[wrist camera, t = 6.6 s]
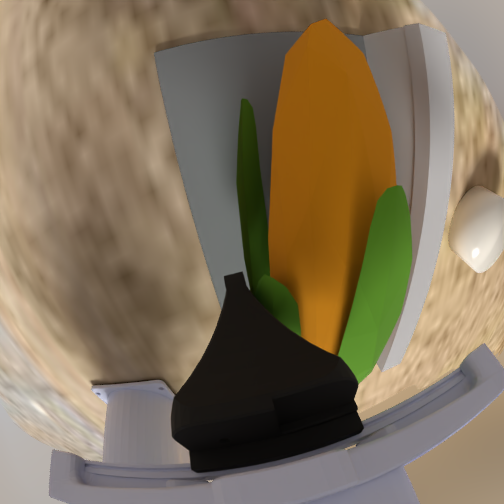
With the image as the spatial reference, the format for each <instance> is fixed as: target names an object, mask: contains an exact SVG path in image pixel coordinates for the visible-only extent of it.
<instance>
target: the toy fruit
mask: <svg viewBox="0 0 504 504" xmlns="http://www.w3.org/2000/svg"><path fill="white" fill-rule="evenodd" d="M236 186H237V196H238V206H239V215H240V225H241V235H242V244H243V254H244V261H245V266H246V271H247V276H248V282H249V287H250V291H251V292H252V294H253V295H254V296H255V297H256V298H257V300H258V301H259V302H260V303H261V304H262V305H263V306H264V307H265V308H266V309H267V310H268V311H269V312H270V313H271V314H272V315H273V316H274V317H275V318H276V319H278V320H279V321H280V322H281V323H282V324H284V325H285V326H286V327H288V328H289V329H290V330H292V331H293V332H294V333H296V334H298V335H299V336H301V337H302V338H304V339H305V340H307V341H309V342H310V343H312V344H314V345H316V346H318V347H319V348H321V349H323V350H325V351H328V352H330V353H332V354H334V355H337V356H339V357H341V358H342V359H343V360H344V362H345V363H346V364H347V365H348V366H349V368H350V369H351V370H352V372H353V373H354V375H355V376H356V378H357V381H358V384H359V383H360V382H361V381H362V380H363V379H365V378H366V377H367V376H368V375H369V374H370V373H371V372H372V370H373V368H374V366H375V364H376V363H377V361H378V359H379V357H380V355H381V353H382V351H383V349H384V348H385V346H386V344H387V342H388V340H389V338H390V336H391V333H392V331H393V329H394V327H395V325H396V323H397V321H398V319H399V316H400V314H401V311H402V307H403V303H404V299H405V295H406V290H407V285H408V280H409V275H410V270H411V265H412V234H411V219H410V212H409V207H408V203H407V198H406V194H405V192H404V189H403V187H402V186H401V185H397V183H396V169H395V157H394V147H393V139H392V132H391V128H390V125H389V121H388V118H387V115H386V112H385V109H384V105H383V102H382V100H381V97H380V94H379V91H378V88H377V86H376V83H375V80H374V78H373V75H372V73H371V70H370V68H369V65H368V63H367V60H366V58H365V56H364V54H363V52H362V51H361V50H360V49H359V48H358V47H357V46H356V45H355V44H354V43H353V42H352V41H351V40H350V39H348V38H347V37H346V36H345V35H344V34H343V33H342V32H341V31H340V30H339V29H338V28H337V27H335V26H334V25H333V24H332V23H331V22H330V21H328V20H327V19H324V20H321V21H318V22H315V23H312V24H311V25H310V26H309V27H308V28H307V29H306V30H305V32H304V33H303V34H302V35H301V36H300V38H299V39H298V40H297V41H296V42H295V44H294V45H293V46H292V47H291V49H290V50H289V51H288V52H287V54H286V55H285V61H284V67H283V73H282V79H281V84H280V90H279V96H278V102H277V108H276V114H275V120H274V126H273V135H272V163H271V188H270V210H269V231H268V223H267V216H266V208H265V200H264V193H263V185H262V178H261V171H260V162H259V152H258V141H257V131H256V123H255V117H254V111H253V107H252V106H251V104H250V103H249V101H248V99H244V98H242V100H241V105H240V117H239V129H238V149H237V175H236Z"/></svg>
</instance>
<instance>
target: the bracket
mask: <svg viewBox="0 0 504 504" xmlns="http://www.w3.org/2000/svg"><path fill="white" fill-rule="evenodd" d="M303 33H304V32H271V33H256V34H246V35H237V36H229V37H223V38H216V39H210V40H205V41H200V42H195V43H190V44H186V45H181V46H177V47H173V48H169V49H166V50H162V51H158V52H155V53H154V56H155V62H156V67H157V72H158V77H159V82H160V87H161V91H162V96H163V101H164V105H165V110H166V114H167V119H168V123H169V127H170V132H171V136H172V140H173V144H174V148H175V152H176V156H177V160H178V164H179V168H180V172H181V176H182V179H183V183H184V187H185V191H186V194H187V198H188V202H189V205H190V209H191V212H192V216H193V219H194V223H195V226H196V230H197V233H198V237H199V240H200V243H201V247H202V250H203V253H204V257H205V260H206V263H207V266H208V270H209V273H210V276H211V279H212V282H213V285H214V288H215V292H216V295H217V298H218V301H219V304H220V307H221V310H222V307H223V303H224V298H225V294H226V287H225V282H224V276H226V275H230V274H234V273H238V272H242V271H243V274H244V278H245V281H246V285H247V287H248V288H249V290H250V287H249V282H248V276H247V271H246V266H245V261H244V254H243V244H242V235H241V225H240V215H239V206H238V196H237V186H236V175H237V149H238V129H239V117H240V105H241V100H242V98H244V99H248V101H249V103H250V104H251V106H252V107H253V111H254V117H255V123H256V131H257V141H258V152H259V162H260V171H261V178H262V185H263V193H264V200H265V208H266V216H267V223H268V231H269V210H270V188H271V163H272V135H273V126H274V120H275V114H276V108H277V102H278V96H279V90H280V84H281V79H282V73H283V67H284V61H285V55H286V54H287V52H288V51H289V50H290V49H291V47H292V46H293V45H294V44H295V42H296V41H297V40H298V39H299V38H300V36H301V35H302V34H303ZM344 35H345V36H346V37H347V38H348V39H350V40H351V41H352V42H353V43H354V44H355V45H356V46H357V47H358V48H359V49H360V50H361V51H362V52H363V54H364V56H365V58H366V60H367V63H368V65H369V68H370V70H371V73H372V75H373V78H374V80H375V83H376V86H377V88H378V91H379V94H380V97H381V100H382V102H383V105H384V109H385V112H386V115H387V118H388V121H389V125H390V128H391V132H392V139H393V147H394V157H395V169H396V183H397V185H401V186H402V187H403V189H404V192H405V194H406V198H407V203H408V207H409V212H410V219H411V234H412V265H411V270H410V275H409V280H408V285H407V290H406V295H405V299H404V303H403V307H402V311H401V314H400V316H399V319H398V321H397V323H396V325H395V327H394V329H393V331H392V333H391V336H390V338H389V340H388V342H387V344H386V346H385V348H384V349H383V351H382V353H381V355H380V357H379V359H378V361H377V365H378V366H379V368H380V370H381V372H383V371H385V370H388V369H390V368H392V367H394V366H396V365H398V364H400V363H401V361H402V358H403V356H404V354H405V352H406V349H407V347H408V345H409V342H410V340H411V337H412V335H413V332H414V330H415V327H416V325H417V322H418V319H419V317H420V314H421V311H422V308H423V305H424V302H425V299H426V296H427V293H428V290H429V287H430V283H431V280H432V276H433V273H434V269H435V265H436V262H437V258H438V254H439V249H440V245H441V240H442V236H443V231H444V226H445V220H446V215H447V209H448V202H449V195H450V187H451V178H452V167H453V153H454V96H453V82H452V72H451V64H450V56H449V50H448V44H447V38H446V33H444V32H442V31H439V30H436V29H434V28H431V27H428V26H425V25H422V24H419V23H418V24H411V25H405V26H404V27H400V28H395V29H390V30H385V31H381V32H377V33H372V34H368V35H364V36H360V35H352V34H344Z"/></svg>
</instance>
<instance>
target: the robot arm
mask: <svg viewBox="0 0 504 504" xmlns="http://www.w3.org/2000/svg"><path fill="white" fill-rule="evenodd" d="M224 282H225V287H226V294H225V298H224V303H223V307H222V311H221V314H220V317H219V320H218V323H217V326H216V329H215V331H214V334H213V336H212V338H211V340H210V343H209V345H208V347H207V349H206V351H205V353H204V354H203V356H202V358H201V360H200V362H199V363H198V365H197V366H196V368H195V369H194V371H193V372H192V374H191V376H190V377H189V378H188V380H187V381H186V383H185V384H184V385H183V386H182V388H181V389H180V390H179V391H178V393H177V394H176V395H174V393H173V392H172V391H171V390H170V388H169V387H168V386H167V385H166V384H165V382H164V381H162V380H152V381H143V382H134V383H123V384H111V385H94V386H92V388H91V390H92V391H93V392H94V393H95V394H96V395H97V396H98V397H99V398H100V399H101V400H102V401H104V402H105V403H106V404H107V411H106V420H105V431H104V445H103V462H98V461H90V460H84V459H83V458H82V457H80V456H78V455H76V454H73V453H69V452H64V451H59V450H52V456H51V467H50V482H49V496H50V497H51V498H54V499H57V500H60V501H63V502H66V503H69V504H420V503H419V500H418V498H417V496H416V493H415V491H414V489H413V486H412V484H411V482H410V480H409V478H408V475H407V473H406V471H405V469H404V466H405V465H407V464H409V463H410V462H412V461H414V460H416V459H417V458H419V457H421V456H422V455H424V454H425V453H427V452H429V451H430V450H431V449H433V448H435V447H436V446H438V445H439V444H441V443H442V442H443V441H445V440H446V439H448V438H449V437H450V436H452V435H453V434H455V433H456V432H457V431H459V430H460V429H461V428H462V427H464V426H465V425H466V424H467V423H469V422H470V421H471V420H472V419H474V418H475V417H476V416H477V415H478V414H479V413H480V412H482V411H483V410H484V409H485V408H486V407H487V406H488V405H489V404H491V402H493V401H494V399H496V397H498V396H499V395H500V394H501V393H502V391H504V368H503V367H502V365H501V364H500V363H499V361H498V360H497V359H496V357H495V356H494V355H493V354H492V352H491V351H490V350H489V348H488V347H487V346H486V344H485V343H484V344H482V345H480V346H479V347H478V348H477V349H475V350H474V351H473V352H471V353H470V354H469V355H468V356H467V357H466V358H465V359H464V360H463V362H462V363H461V365H460V367H459V368H458V369H456V370H455V371H453V372H452V373H450V374H449V375H447V376H446V377H444V378H443V379H441V380H440V381H438V382H436V383H435V384H433V385H432V386H430V387H428V388H427V389H425V390H423V391H421V392H420V393H418V394H416V395H414V396H413V397H411V398H409V399H407V400H405V401H403V402H401V403H399V404H398V405H396V406H394V407H392V408H390V409H388V410H385V411H383V412H381V413H379V414H377V415H375V416H373V417H370V418H368V419H366V420H364V421H361V419H360V417H359V415H358V413H357V410H358V407H357V405H356V403H355V401H354V398H355V395H356V392H357V389H358V381H357V378H356V376H355V375H354V373H353V372H352V370H351V369H350V368H349V366H348V365H347V364H346V363H345V362H344V360H343V359H342V358H341V357H339V356H337V355H334V354H332V353H330V352H328V351H325V350H323V349H321V348H319V347H318V346H316V345H314V344H312V343H310V342H309V341H307V340H305V339H304V338H302V337H301V336H299V335H298V334H296V333H294V332H293V331H292V330H290V329H289V328H288V327H286V326H285V325H284V324H282V323H281V322H280V321H279V320H278V319H276V318H275V317H274V316H273V315H272V314H271V313H270V312H269V311H268V310H267V309H266V308H265V307H264V306H263V305H262V304H261V303H260V302H259V301H258V300H257V298H256V297H255V296H254V295H253V294H252V292H251V291H250V290H249V288H248V287H247V285H246V281H245V278H244V274H243V271H242V272H238V273H234V274H230V275H226V276H224ZM355 444H356V447H354V448H351V449H348V450H345V448H347V447H350V446H352V445H355ZM206 480H213V481H212V482H210V483H209V482H208V481H206Z"/></svg>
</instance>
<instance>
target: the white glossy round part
mask: <svg viewBox="0 0 504 504" xmlns="http://www.w3.org/2000/svg"><path fill="white" fill-rule="evenodd" d="M449 246H450V248H451V250H452V251H453V252H454V253H455V254H456V255H457V256H459V257H460V258H461V259H462V260H463V261H464V262H466V263H467V264H468V265H469V266H470V267H471V268H472V269H473V270H475V271H476V272H477V273H482V272H484V271H486V270H487V269H489V268H490V267H491V266H492V265H493V264H494V263H495V261H496V260H497V259H498V257H499V256H500V254H501V253H502V251H503V249H504V198H502V197H500V196H499V195H497V194H495V193H493V192H492V191H490V190H488V189H486V188H485V187H483V186H480V185H478V186H474V187H472V188H471V189H470V190H469V191H468V192H467V193H466V194H465V195H464V196H463V198H462V199H461V201H460V202H459V204H458V206H457V208H456V210H455V212H454V215H453V218H452V221H451V224H450V229H449Z"/></svg>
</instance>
